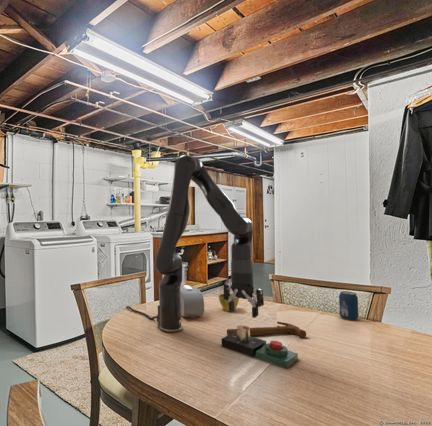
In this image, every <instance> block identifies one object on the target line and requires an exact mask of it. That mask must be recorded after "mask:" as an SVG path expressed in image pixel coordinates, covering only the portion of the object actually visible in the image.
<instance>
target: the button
mask: <svg viewBox="0 0 432 426" xmlns="http://www.w3.org/2000/svg"><path fill="white" fill-rule="evenodd" d="M269 343H270V347H271V348H273V349H277V350H282V345H283V343H282V342H281V341H279V340H270V341H269Z"/></svg>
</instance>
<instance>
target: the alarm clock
mask: <svg viewBox="0 0 432 426" xmlns="http://www.w3.org/2000/svg"><path fill="white" fill-rule="evenodd" d="M180 293H181V317H184V318H201V317H202V316H203V315H204V314H205V299H204V295H203V293H202V291H200V289H199V288H197V287H196V286H194V285H190V284H184V285H183V286H182V285H181V286H180Z"/></svg>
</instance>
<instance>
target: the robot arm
mask: <svg viewBox="0 0 432 426" xmlns="http://www.w3.org/2000/svg"><path fill="white" fill-rule="evenodd" d="M191 181H192V182H193V183H195V185H196V186H197V187H198V188H199V189H200V191H201V192H202V194H203V196H204V198H205V200H206V202H207V204H208V205H209V206H210V208H211V209H213V211H214V212H215V213H216V214H217V216H219V218H220V220H221V222H222V224H223V225H224V226H225V228H226V230H227V231H228V232H229V233H230V234H232V236H233V242H232V243H231V245H230V278H231V279H230V281H231V284H230V283H229V282H228V283H224V284H223V294H224V296H223V298H224V299H225V300H227V301H228V302H229V310H230V311H229V312H230V313H234V312H235V311H236V309H235V304H234V302H233V301H234V300H235V299H236V297H237V298H239V299H242V300H246V301H248V302H249V303H250V305H251V306H252V307H251V317H252V318H254V319H256V318H257V317H258V316H259V308H260V307H263V306H264V305H265V302H264V301H265V300H264V290H263V289H262V288H255V287H254V265H253V255H252V254H253V253H252V250H253V249H252V243H253V236H254V226H253V222H252V220H251V219H250V218H248V217H246V216H241V214H240V213H239V212H238V210H237V209H236V206H235V203H234V202H232V200H231V199H230V198H229V197H228V196H227V194H225V192H224V191H223V190H222V188H220V187H219V186H218V185H217V183H216V182H215V181H214V180H213V178H212V176H211V175H210V173H209V172H208V171H207V169H206V167H205V166H204V164H203V162H202V161H201V159H200V158H198V157H196V156H192V155H189V154H182V155H180V156H179V157H178V158H177V159H176V161H175V163H174V167H173V176H172V186H171V191H170V197H169V202H168V207H167V211H166V215H165V222H164V227H163V230H162V236H161V240H160V244H159V247H158V250H157V252H156V255H155V256H156V257H155V261H154V262H155V263H154V267H155V269H156V272H157V273H158V274H159V275H163V277H162V279H161V280H160V281H159V282H158V301H159V303H158V305H157V314H156V315H154V316H152V317H151V316H149V315H148V314H147V313H145V312H142V311H139V310H136V309H134V308H132V307H131V306H130V305H127V306H125V309H129V310H131V311H132V312H134V313H137V314H141V315H144V316H145V317H146V318H147V319H149V320H151V321H153V320H155V319H156V322H157V327H158V328H159V330H161V331H163V332H165V333H177V332H180V331H181V330H182V323H183V318H182V315H181V293H180V286H182V283H183V260H182V257H181V256H180V254H178V253H177V252H176V247H177V244H178V242H179V241H180V239H181V237H182V236H183V234H184V232H185V230H186V228H187V226H188V222H189V218H190V212H191V205H190V199H189V198H190V197H189V190H190V185H191ZM231 290H232V293H231ZM230 294H231V296H230ZM254 294H255V295H254ZM255 296H256V297H255Z"/></svg>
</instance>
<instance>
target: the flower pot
mask: <svg viewBox="0 0 432 426" xmlns="http://www.w3.org/2000/svg"><path fill="white" fill-rule="evenodd" d="M231 294H232V293H230V296H231ZM217 296H218V300H219V304H220V306H221V307H222V309H223V310H224V311H225V312H230V310H229V302H228V301H227V300H225V299H224V298H223V296H224V293H220V294H218V295H217ZM233 302H234V304H235V310H236V309H237V306H238V305H239V302H240V298H237V297H236V299H235V300H234V301H233Z"/></svg>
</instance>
